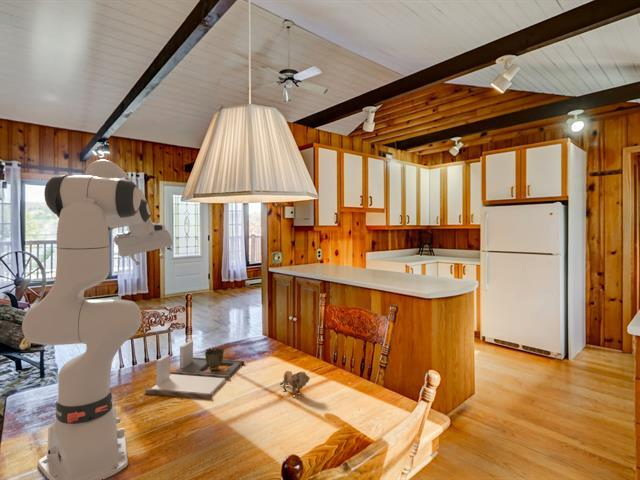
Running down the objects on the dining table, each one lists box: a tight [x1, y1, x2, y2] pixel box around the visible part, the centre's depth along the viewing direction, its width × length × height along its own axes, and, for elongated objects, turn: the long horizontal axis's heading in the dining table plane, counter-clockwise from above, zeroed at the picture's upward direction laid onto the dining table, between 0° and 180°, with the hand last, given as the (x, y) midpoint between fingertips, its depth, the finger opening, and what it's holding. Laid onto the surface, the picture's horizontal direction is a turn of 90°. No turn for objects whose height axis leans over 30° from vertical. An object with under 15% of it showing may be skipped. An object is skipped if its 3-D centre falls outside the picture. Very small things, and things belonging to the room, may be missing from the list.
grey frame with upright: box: [175, 340, 242, 376], centre depth 147 cm, size 22×13×10 cm, turn 82°
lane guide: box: [144, 356, 245, 400], centre depth 139 cm, size 24×33×2 cm
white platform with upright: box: [150, 354, 226, 395], centre depth 130 cm, size 22×13×10 cm, turn 82°
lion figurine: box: [279, 370, 311, 396], centre depth 127 cm, size 15×5×9 cm, turn 45°
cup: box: [204, 347, 225, 372], centre depth 147 cm, size 8×7×8 cm
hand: (150, 261), depth 147 cm, fingers open, 8 cm apart
